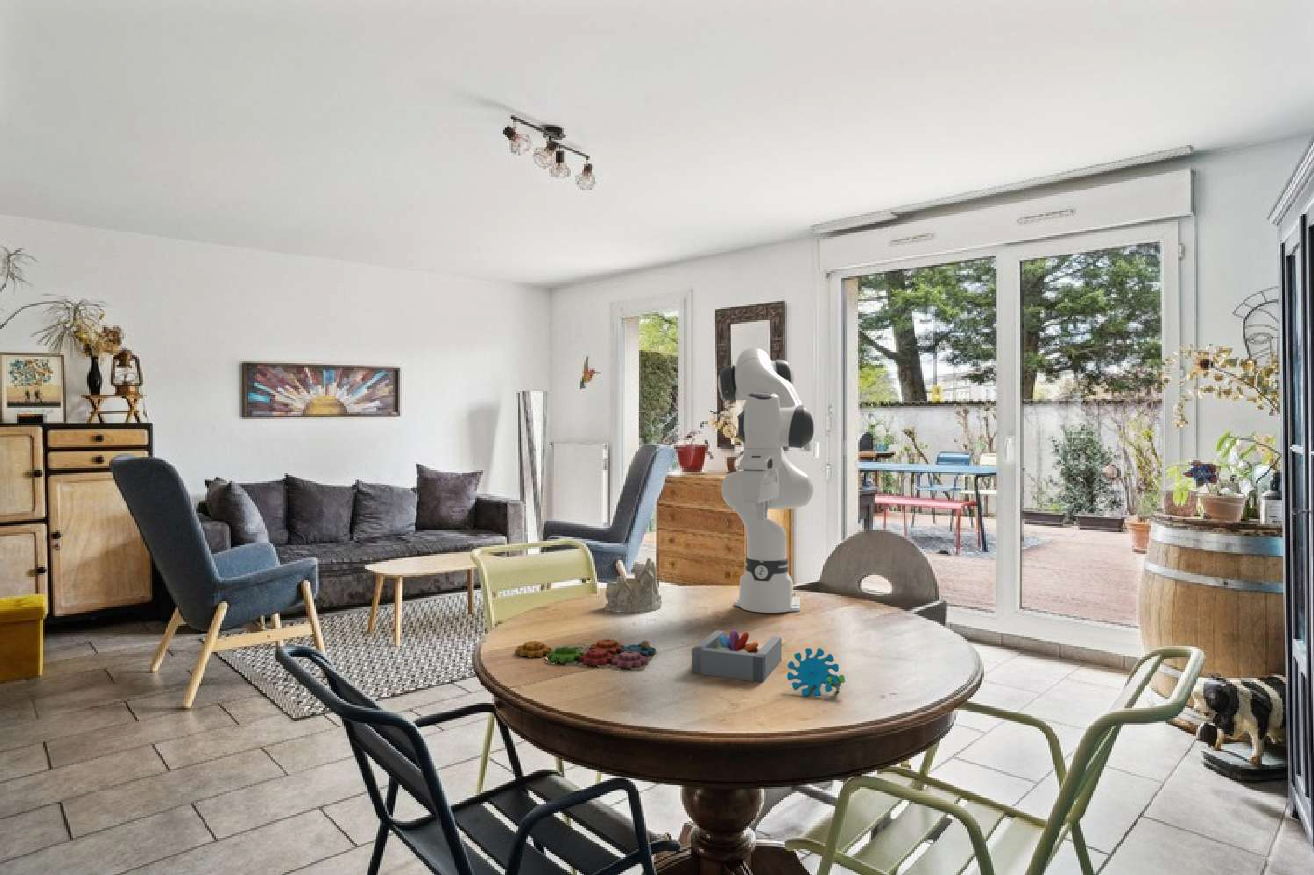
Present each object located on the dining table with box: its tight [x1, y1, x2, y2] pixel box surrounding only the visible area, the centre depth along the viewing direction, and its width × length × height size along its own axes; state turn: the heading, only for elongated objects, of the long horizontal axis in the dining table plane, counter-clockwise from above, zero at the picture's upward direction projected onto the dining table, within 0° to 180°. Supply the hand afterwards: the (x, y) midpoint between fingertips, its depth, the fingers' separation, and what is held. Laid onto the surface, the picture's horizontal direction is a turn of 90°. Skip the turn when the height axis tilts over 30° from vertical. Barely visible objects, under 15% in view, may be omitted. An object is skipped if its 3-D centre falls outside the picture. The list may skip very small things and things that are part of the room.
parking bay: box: [691, 630, 783, 683], centre depth 163 cm, size 16×15×5 cm
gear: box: [786, 647, 846, 697], centre depth 149 cm, size 11×6×10 cm
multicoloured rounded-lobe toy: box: [717, 629, 760, 653], centre depth 165 cm, size 8×10×7 cm
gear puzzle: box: [514, 638, 658, 672], centre depth 171 cm, size 31×16×4 cm, turn 77°
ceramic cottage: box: [604, 557, 662, 613], centre depth 219 cm, size 16×16×15 cm
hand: (762, 519), depth 181 cm, fingers closed
